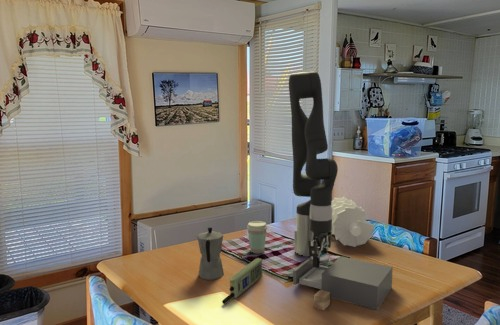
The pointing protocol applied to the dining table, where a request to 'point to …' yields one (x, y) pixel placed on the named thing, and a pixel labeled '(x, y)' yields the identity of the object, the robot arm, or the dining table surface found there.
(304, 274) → the tray
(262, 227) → the coffee cup
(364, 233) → the spiral staircase
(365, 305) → the block
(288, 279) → the dining table surface
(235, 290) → the handheld radio
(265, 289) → the dining table surface
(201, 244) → the coffeepot
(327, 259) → the disc
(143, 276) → the dining table surface
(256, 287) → the dining table surface
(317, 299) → the pedestal
